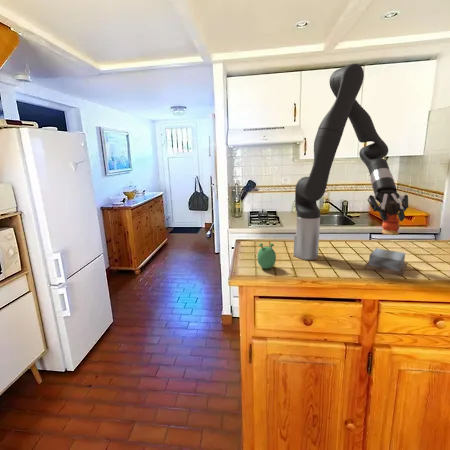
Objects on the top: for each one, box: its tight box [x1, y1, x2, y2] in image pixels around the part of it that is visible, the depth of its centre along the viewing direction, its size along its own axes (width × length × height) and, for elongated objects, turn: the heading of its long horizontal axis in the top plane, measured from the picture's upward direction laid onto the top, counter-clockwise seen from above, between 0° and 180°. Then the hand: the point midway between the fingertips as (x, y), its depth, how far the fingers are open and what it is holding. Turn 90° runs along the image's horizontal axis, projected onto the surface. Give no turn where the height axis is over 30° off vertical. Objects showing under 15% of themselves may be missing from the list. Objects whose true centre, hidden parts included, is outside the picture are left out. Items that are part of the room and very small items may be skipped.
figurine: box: [381, 201, 401, 236], centre depth 104 cm, size 6×6×12 cm
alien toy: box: [256, 242, 277, 270], centre depth 109 cm, size 7×8×10 cm
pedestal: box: [364, 247, 408, 277], centre depth 108 cm, size 12×12×5 cm
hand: (393, 219), depth 102 cm, fingers closed on figurine, 5 cm apart
